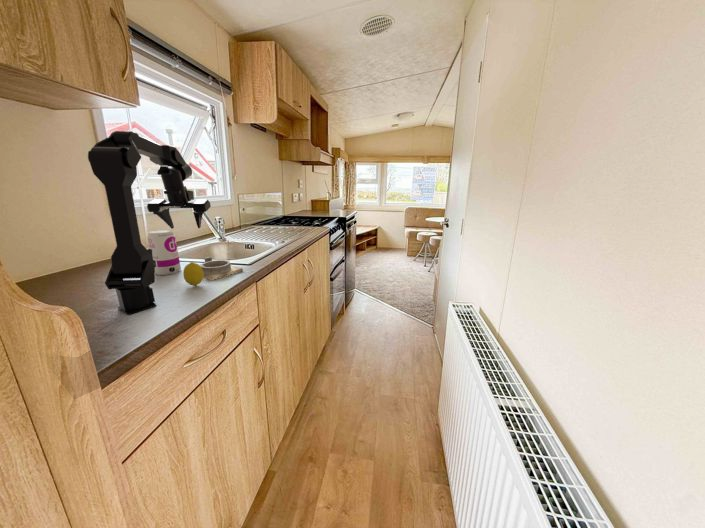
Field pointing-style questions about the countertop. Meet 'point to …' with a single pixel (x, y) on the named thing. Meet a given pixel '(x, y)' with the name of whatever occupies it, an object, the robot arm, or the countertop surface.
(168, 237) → the supplement can
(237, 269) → the carrier board
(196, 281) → the lemon
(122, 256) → the robot arm
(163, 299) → the countertop surface
